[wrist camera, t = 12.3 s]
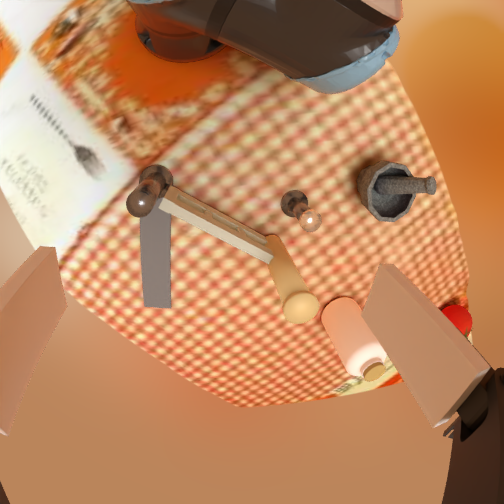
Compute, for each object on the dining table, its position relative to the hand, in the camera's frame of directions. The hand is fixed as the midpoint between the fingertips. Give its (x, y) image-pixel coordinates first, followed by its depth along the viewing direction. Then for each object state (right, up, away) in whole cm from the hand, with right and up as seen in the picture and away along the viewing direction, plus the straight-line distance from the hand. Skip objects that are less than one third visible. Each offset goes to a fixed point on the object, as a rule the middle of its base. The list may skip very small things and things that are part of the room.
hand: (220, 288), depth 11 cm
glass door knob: (+8, +9, +36) cm, 38 cm away
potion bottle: (+19, -11, +48) cm, 53 cm away
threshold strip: (-15, +2, +36) cm, 39 cm away
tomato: (+54, -16, +56) cm, 79 cm away
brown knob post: (-13, +12, +31) cm, 36 cm away
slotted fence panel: (-3, +6, +35) cm, 35 cm away
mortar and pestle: (+22, +14, +36) cm, 45 cm away
